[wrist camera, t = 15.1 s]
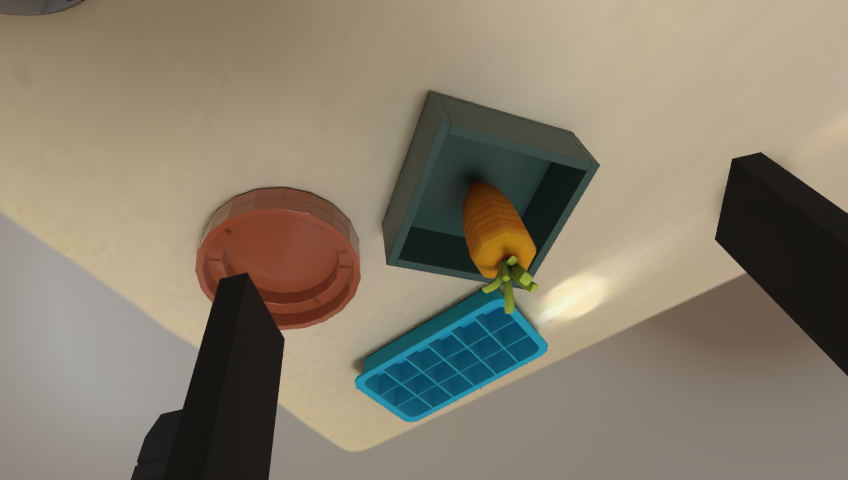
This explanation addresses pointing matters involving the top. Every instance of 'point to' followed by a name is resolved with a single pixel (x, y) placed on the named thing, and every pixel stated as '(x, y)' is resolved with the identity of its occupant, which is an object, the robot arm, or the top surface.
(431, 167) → the bin
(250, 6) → the top surface
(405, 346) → the ice cube tray
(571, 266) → the top surface
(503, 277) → the carrot
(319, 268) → the bowl
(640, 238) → the top surface
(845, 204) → the top surface
